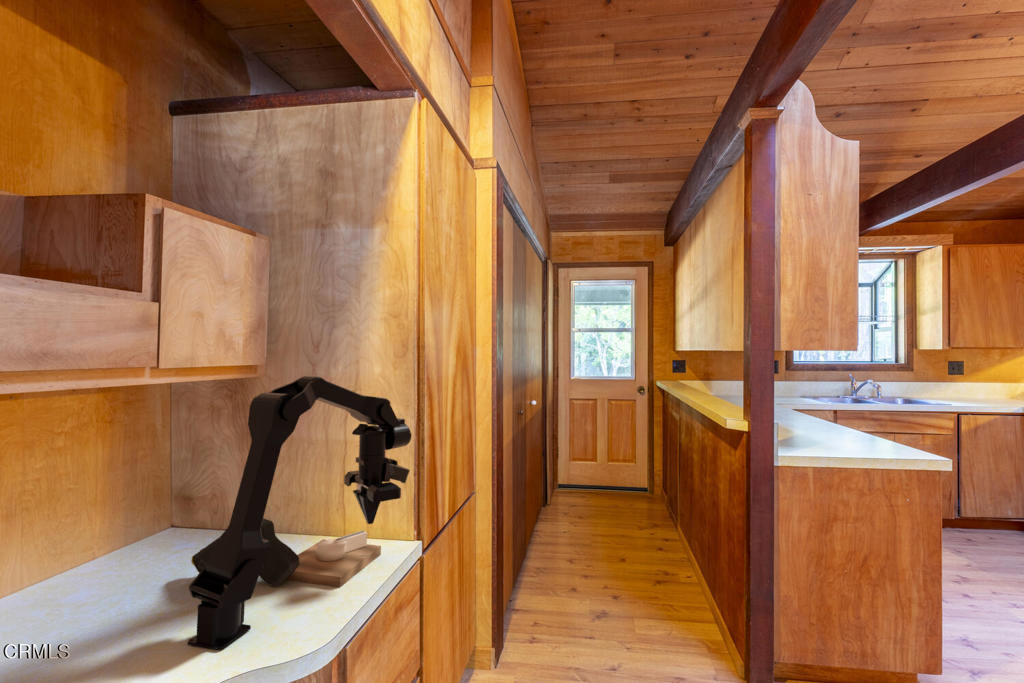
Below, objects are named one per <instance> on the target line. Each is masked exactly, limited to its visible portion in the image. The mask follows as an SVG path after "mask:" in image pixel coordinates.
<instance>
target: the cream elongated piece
mask: <svg viewBox="0 0 1024 683" xmlns="http://www.w3.org/2000/svg"><path fill="white" fill-rule="evenodd" d="M324 540H325V541H322V542H320V541H319V542H320V543H318V542H317V543H318V544H317V556H316V558H317V559H318V560H321V561H334V560H338V559H341V558H343V557H344V556H345V555H346V552H349V551H352V550H355V549H358V548H361V547H364V546H367V544H368V532H366V531H365V530H360V531H356V532H354V533H349V534H347V535H343V536H340V537H337V538H331V539H324Z"/></svg>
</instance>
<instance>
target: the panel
mask: <svg viewBox="0 0 1024 683" xmlns="http://www.w3.org/2000/svg"><path fill="white" fill-rule="evenodd" d="M325 540H326V539H322V540H320V541H318V542H316V543H315V544H314V545H312V546H309V547H308V548H306V549H305V550H303V551H302V552H300V553H298V554H297V556H298V557H299V563H300V565H299V566H298V567H297V569H296V570H295V571H294V572H293V573H292V574H291V575H290V576H289V578H288V579H287V580H286V581H290V582H291V581H293V582H298V583H305V584H312V585H313V584H314V585H320V586H326V587H335V588H336V587H337V588H341V587H342V586H344V585H345V584H346V583H348V582H349V581H351V579H353V577H355V576H356V575H357V574H359V573H360V572H362V570H364V569H365V568H366V567H368V566H369V564H371V563H372V562H373V561H375V560H376V559H377V558H378V557H380V556H381V555H382V553H381V552H382V545H377V544H376V545H375V544H369V543H367V546H364V547H361V548H358V549H355V550H352V551H349V552H346V555H345V556H344V557H343V558H341V559H338V560H334V561H321V560H318V559H317V558H316V556H317V544H318V543H320V542H322V541H325Z"/></svg>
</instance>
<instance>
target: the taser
mask: <svg viewBox="0 0 1024 683" xmlns="http://www.w3.org/2000/svg"><path fill="white" fill-rule="evenodd" d="M261 534H262V539H265V540H268V541H270V549H269V551H268V554H267V558H266V567H263V568H262V571H261V574H260V576H259V577H260V579H261V580H262V581H263V582H265V583H266V584H268V585H270V586H271V587H273V588H278V587H279V586H280V585H282V584H283V583H284V582H285V581H288V580H287V579H288V578H289V576H290V575H291V574H292V573H293V572H294V571H295V570H296V569H297V567H298V566H299V565H300V563H299V557H298V556H297V555H298V554H297V553H296V552H295V551H294V550H293V549H292V548H291V547H290V546H289V545H287V544H286V543H285V542H283V541H282V540H280V539H279V538H278V536H277V534H276V531H275V523H274V521H272V520H270V519H266V518H264V517H263V521H262V525H261ZM219 538H220V536H219V537H217V538H216V539H215V540H214V541H212V542H210V543H209V544H208V545H207V546H205V547H202V548H201V549H199V551H198V552H196V553H195V554H194V555H192V556H191V559H190V561H191V564H192V565H193V566H194V568H195V570H197V573H198V574H199V573H200V572H201V570H202V569H203V568H204V566H205V565H206V563H207V561H208V558H209V556H210V554H211V551H212V549H213V547H214V544H215V542H216V541H217V540H218V539H219Z"/></svg>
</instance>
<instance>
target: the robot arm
mask: <svg viewBox="0 0 1024 683" xmlns="http://www.w3.org/2000/svg"><path fill="white" fill-rule="evenodd" d="M317 401H318V402H322V403H324V404H328V405H330V406H333V407H335V408H338V409H342V410H344V411H346V412H348V413H349V415H350V416H351V417H352V418H354V419H355V420H357V421H358V422H360V423H359V424H358V425H357V426H356V428H354V429H353V430H352V432H351V433H352V435H355V436H359V440H358V444H359V446H358V447H359V448H358V456H356V457H355V463H357V464H358V470H350V471H347V473H345V475H344V476H343V477H344V479H343V484H344V485H345V486H347V487H351V485H352V484H355V485H356V489H354V490H352V493H353V494H354V496H355V498H356V501H357V502H358V505H359V507H360V510H361V512H362V515H363V516H364V520H365V521H366V524H368V525H372V524H374V521H375V518H376V516H377V513H378V509H379V507H380V504H381V502H386V501H387V502H389V501H392V500H398V499H401V498H402V488H401V487H400V486H399V485H397V483H394V482H393V481H391V480H394V481H397V482H400V483H402V484H406V482H407V481H408V480H407V479H408V476H409V474H410V471H411V470H410V469H409V468H406V467H404V466H401V465H398V460H396V459H393V458H390V457H386V451H390V450H395V449H397V448H398V449H399V448H401V447H406V446H408V444H409V443H410V442H411V439H412V432H411V430H410V427H409V425H407V424H406V419H405V418H398V417H397V416H396V413H395V411H394V409H393V408H392V405H391V401H390V400H389V399H388V398H386V397H379V396H371V395H363V394H361V393H357V392H356V391H353V390H350V389H348V388H345V387H343V386H341V385H339V384H335V383H333V382H331V381H327V380H325V379H324V378H323V377H321V376H314V375H313V376H312V375H311V376H310V375H304V376H301V377H299V378H297V379H295V380H294V381H292V382H290V383H287V384H284V385H283V386H282V385H281V386H280V387H277V388H274V389H272V390H270V391H269V392H262V393H259V394H258V395H257V396H254V397H253V399H252V400H251V402H250V406H249V409H248V410H249V411H248V418H247V419H248V420H247V426H248V427H247V428H248V430H249V435H250V438H251V442H250V443H251V444H250V447H249V451H248V454H247V457H246V462H245V465H244V468H243V472H242V476H241V481H240V483H239V487H238V491H237V495H236V498H235V502H234V505H233V506H234V507H233V509H232V514H231V517H230V520H229V525H228V527H227V528H226V529H225V530H224V531H223V533H222V534H221V535H220V536H219V537H220V538H219V537H218V538H219V539H218V538H217V539H218V540H217V541H216V542H215V544H214V547H213V549H212V551H211V554H210V556H209V558H208V561H207V563H206V565H205V566H204V568H203V569H202V570H201V572H200V573H199V572H198V574H197V575H196V577H195V578H194V579H193V581H192V582H191V583H190V584H189V586H188V591H189V594H190V596H191V598H194V599H197V600H199V601H200V603H199V604H198V605H197V616H196V617H197V618H196V634H195V635H194V636H192V637H191V638H190V639H188V640H187V645H189V646H195V647H201V648H205V649H211V650H218V651H221V650H224V649H225V648H226V647H229V645H231V644H232V643H234V642H235V641H237V639H239V638H241V637H242V636H244V635H245V634H246V633H247V632H249V631H250V630H251V628H252V625H251V624H244V622H245V606H246V604H245V603H246V601H248V600H250V599H252V596H253V594H254V592H255V588H256V585H257V582H258V579H259V577H260V574H261V571H262V568H263V567H266V558H267V554H268V551H269V549H270V541H268V540H265V539H262V534H261V525H262V521H263V518H264V517H265V513H266V510H267V504H268V501H269V497H270V495H271V494H270V492H271V489H272V486H273V482H274V477H275V473H276V471H277V470H276V469H277V467H278V466H277V465H278V462H279V458H280V454H281V450H282V447H283V445H284V444H285V442H286V441H287V440H288V439H289V438H290V436H291V435H292V434H293V433H294V432H295V430H296V428H297V425H298V422H299V420H300V417H301V416H302V415H304V414H305V413H307V412H308V411H309V410H311V408H312V407H313V406H314V404H315V403H316V402H317ZM362 422H363V423H362Z"/></svg>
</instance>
